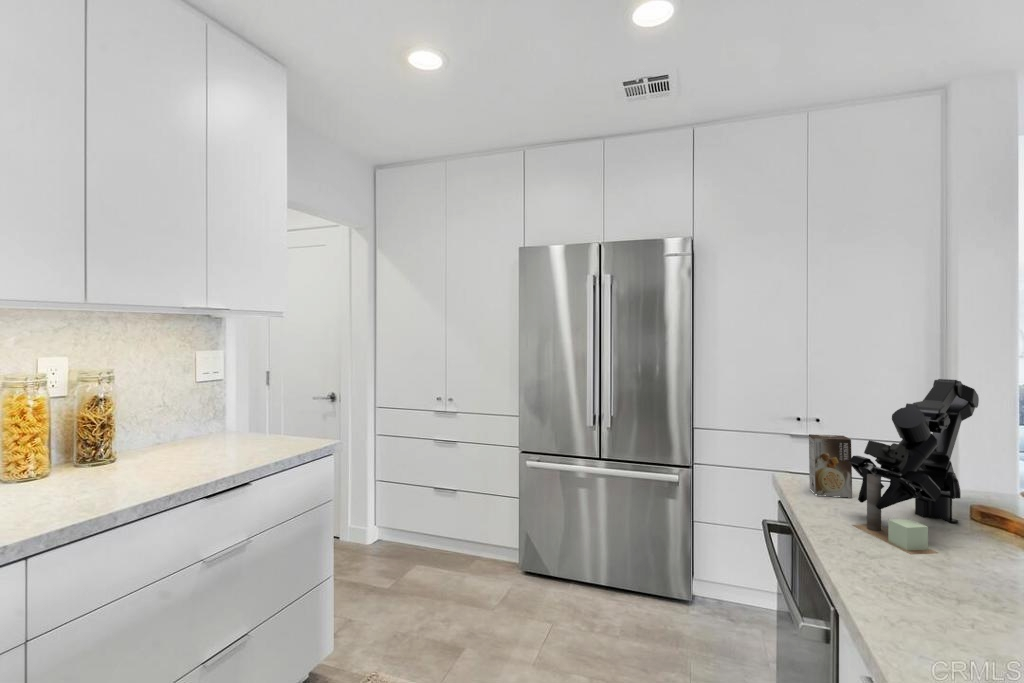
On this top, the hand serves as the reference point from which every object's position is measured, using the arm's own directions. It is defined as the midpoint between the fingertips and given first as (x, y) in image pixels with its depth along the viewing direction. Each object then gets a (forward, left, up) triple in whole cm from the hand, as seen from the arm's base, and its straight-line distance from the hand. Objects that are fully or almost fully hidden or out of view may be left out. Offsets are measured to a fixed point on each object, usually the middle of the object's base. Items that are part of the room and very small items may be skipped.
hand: (868, 504), depth 115 cm
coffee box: (-11, -28, -7) cm, 31 cm away
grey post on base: (-1, +5, -7) cm, 8 cm away
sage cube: (-1, +9, -6) cm, 11 cm away
